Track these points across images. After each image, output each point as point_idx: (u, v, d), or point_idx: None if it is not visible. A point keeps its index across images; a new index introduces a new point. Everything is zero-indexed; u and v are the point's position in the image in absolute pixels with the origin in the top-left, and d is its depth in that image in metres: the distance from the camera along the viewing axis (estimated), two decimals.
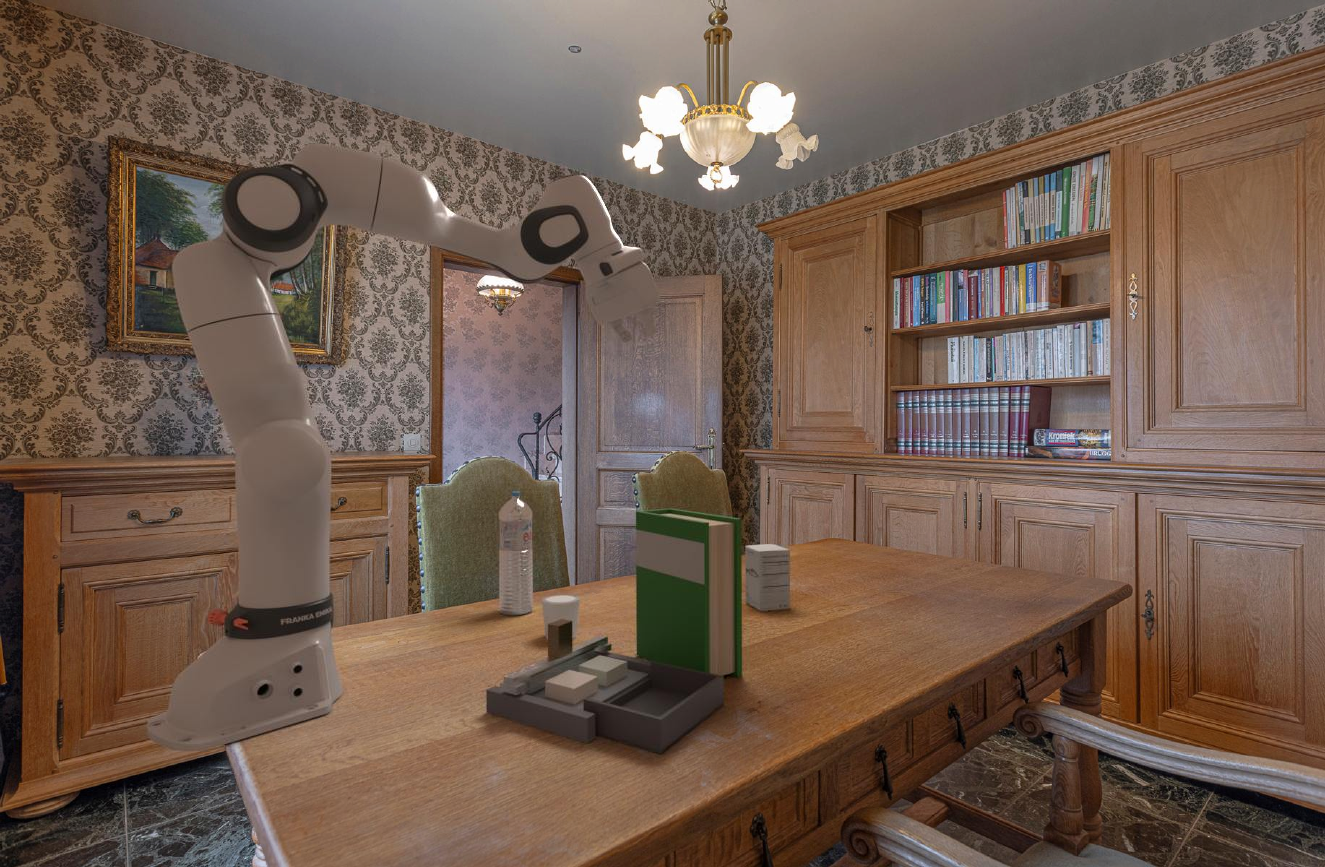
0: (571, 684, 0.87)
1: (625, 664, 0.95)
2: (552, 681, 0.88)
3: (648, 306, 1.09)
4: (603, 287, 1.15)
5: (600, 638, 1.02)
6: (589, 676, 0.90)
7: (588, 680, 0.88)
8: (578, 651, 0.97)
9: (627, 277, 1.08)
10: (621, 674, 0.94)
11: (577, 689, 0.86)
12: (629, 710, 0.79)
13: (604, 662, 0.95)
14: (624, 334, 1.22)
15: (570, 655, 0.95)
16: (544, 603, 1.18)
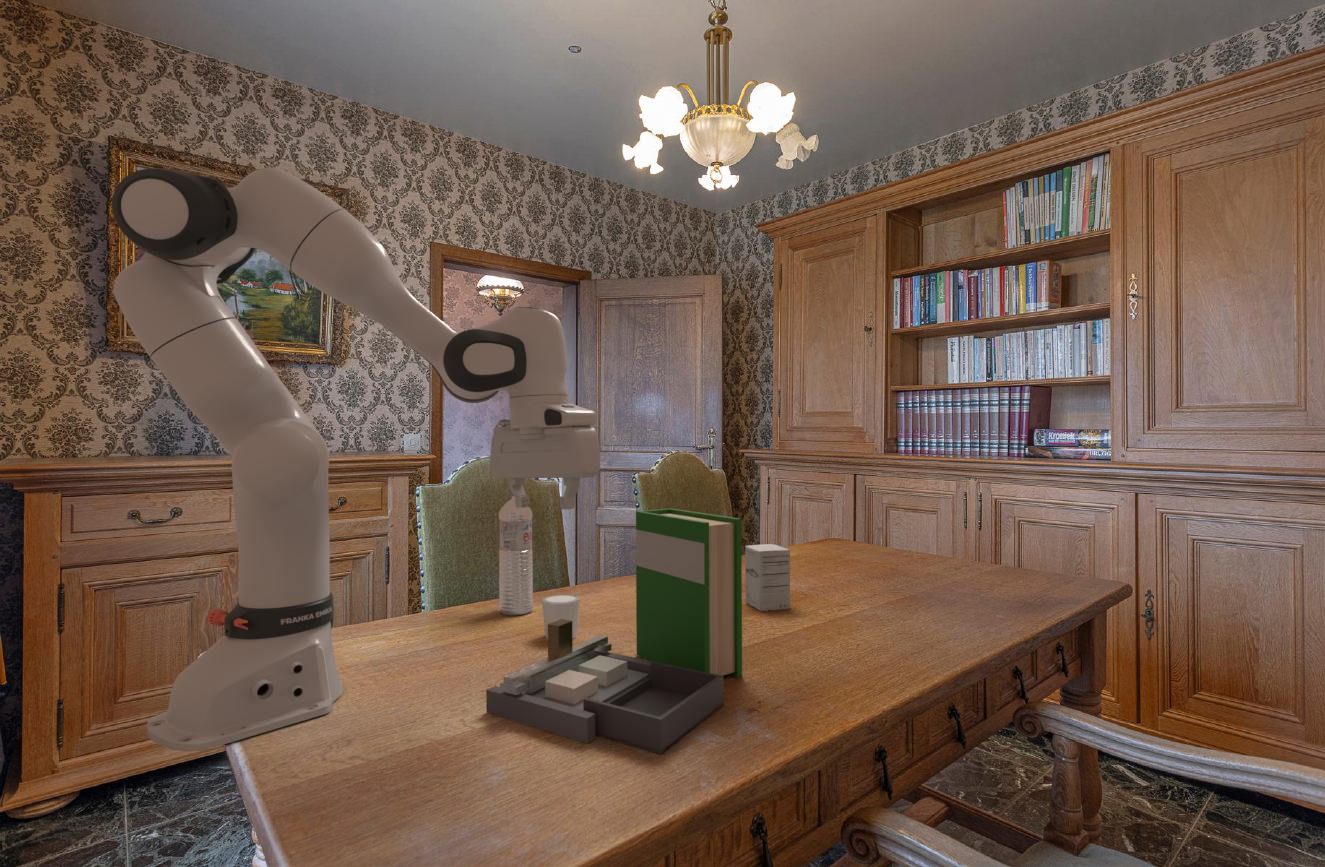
0: (571, 684, 0.87)
1: (625, 664, 0.95)
2: (552, 681, 0.88)
3: (586, 475, 0.93)
4: (533, 436, 0.96)
5: (600, 638, 1.02)
6: (589, 676, 0.90)
7: (588, 680, 0.88)
8: (578, 651, 0.97)
9: (577, 435, 0.92)
10: (621, 674, 0.94)
11: (577, 689, 0.86)
12: (629, 710, 0.79)
13: (604, 662, 0.95)
14: (524, 497, 1.01)
15: (570, 655, 0.95)
16: (544, 603, 1.18)
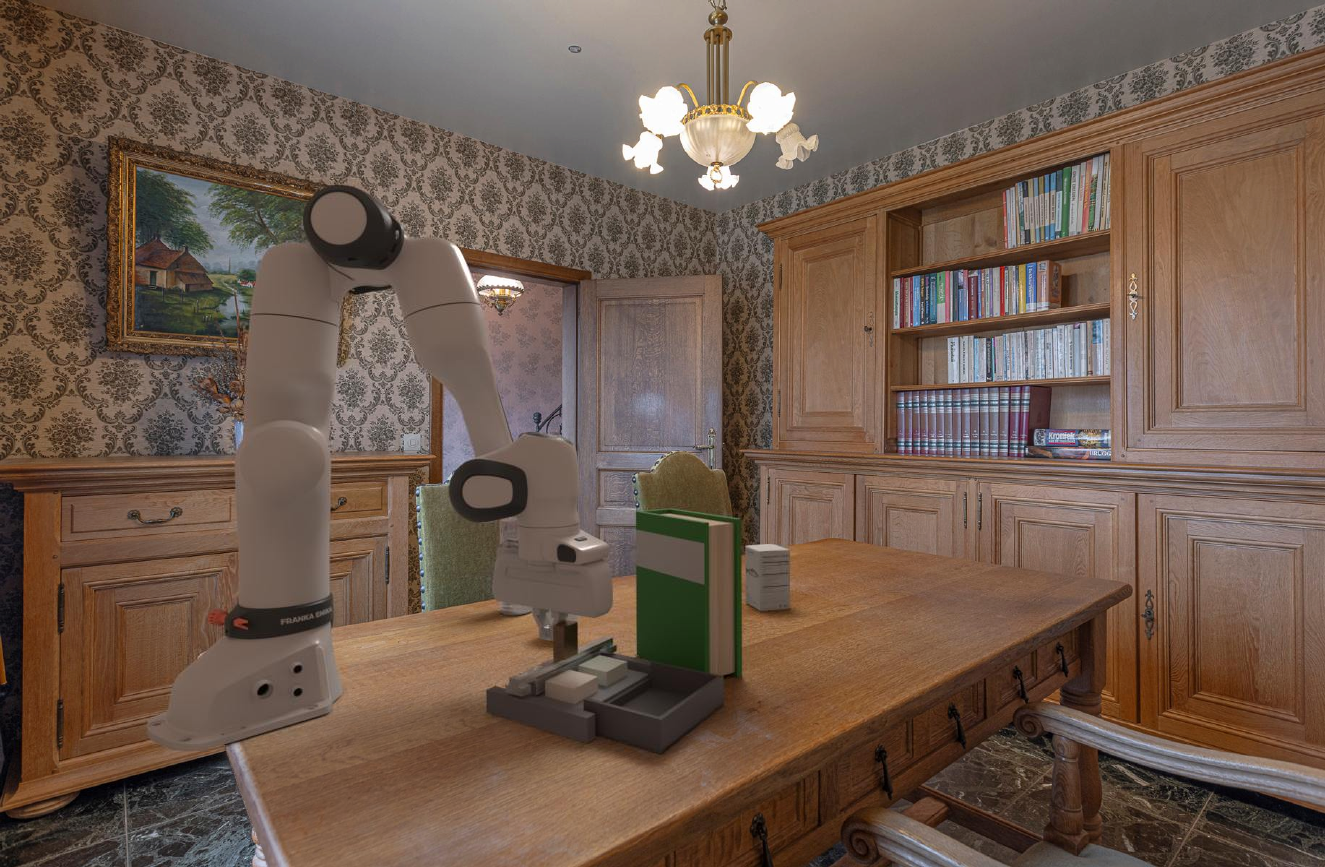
0: (571, 684, 0.87)
1: (625, 664, 0.95)
2: (552, 681, 0.88)
3: (598, 615, 0.90)
4: (543, 568, 0.92)
5: (605, 639, 1.01)
6: (589, 676, 0.90)
7: (588, 680, 0.88)
8: (584, 652, 0.96)
9: (591, 575, 0.89)
10: (621, 674, 0.94)
11: (577, 689, 0.86)
12: (629, 710, 0.79)
13: (604, 662, 0.95)
14: None
15: (575, 656, 0.95)
16: None
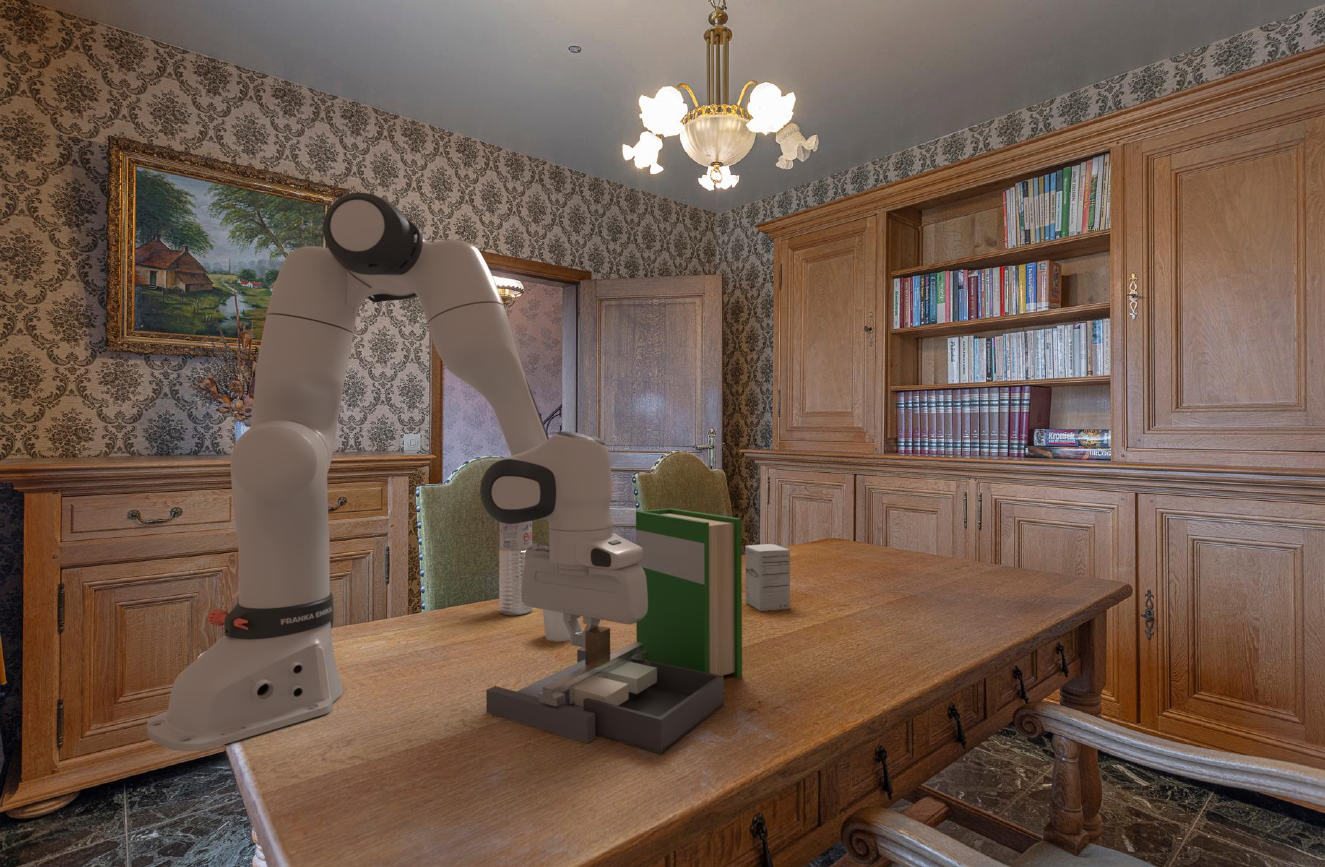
0: (602, 691, 0.84)
1: (655, 671, 0.92)
2: (582, 689, 0.85)
3: (634, 622, 0.87)
4: (575, 573, 0.89)
5: (636, 645, 0.98)
6: (619, 683, 0.87)
7: (619, 688, 0.86)
8: (616, 659, 0.93)
9: (627, 580, 0.86)
10: (651, 681, 0.92)
11: (608, 697, 0.83)
12: (629, 710, 0.79)
13: (633, 668, 0.93)
14: None
15: (608, 663, 0.92)
16: None
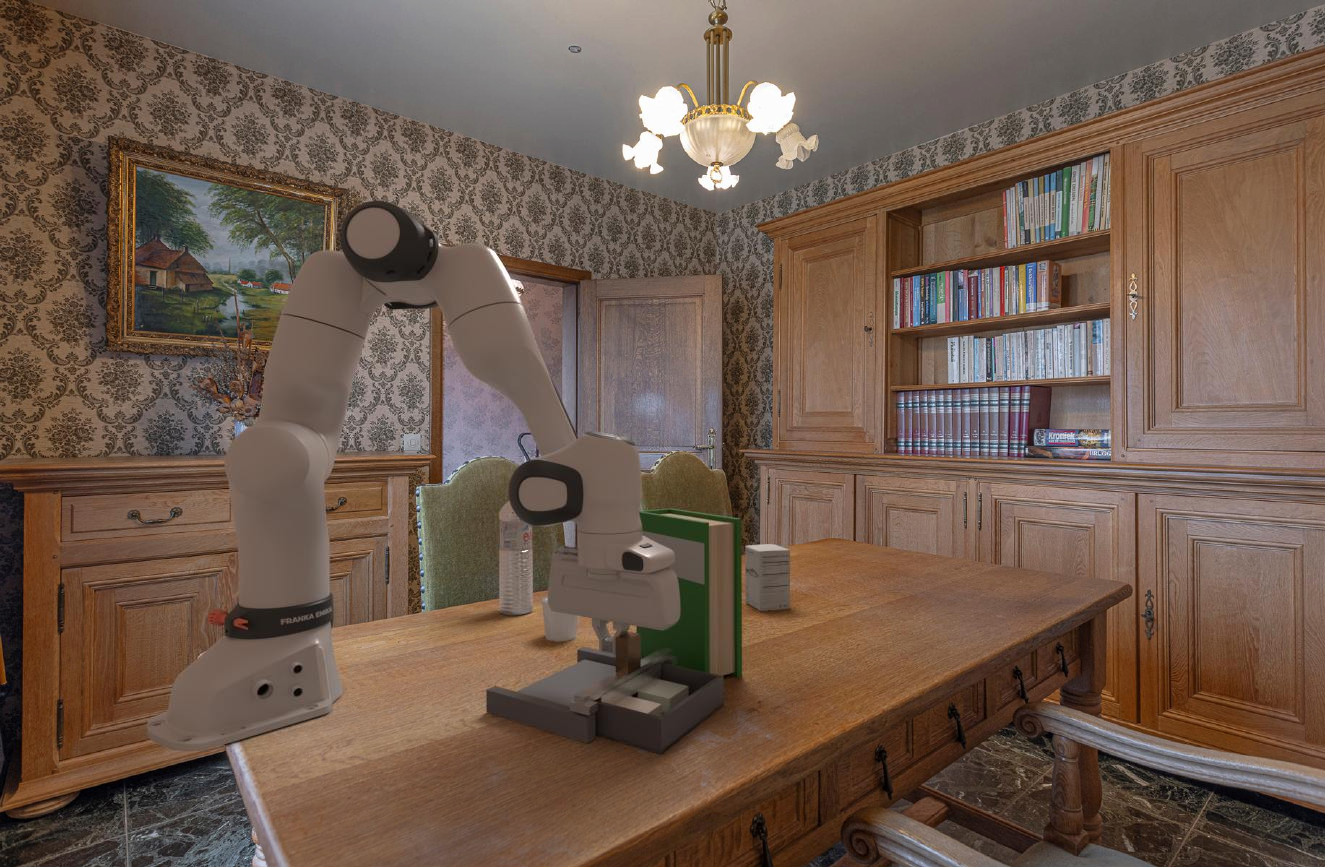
0: None
1: (686, 689, 0.90)
2: None
3: (667, 627, 0.84)
4: (605, 577, 0.87)
5: (665, 651, 0.96)
6: (652, 704, 0.84)
7: (652, 708, 0.83)
8: (646, 665, 0.90)
9: (660, 584, 0.83)
10: None
11: None
12: (629, 710, 0.79)
13: (664, 687, 0.90)
14: None
15: (638, 670, 0.89)
16: (544, 603, 1.18)
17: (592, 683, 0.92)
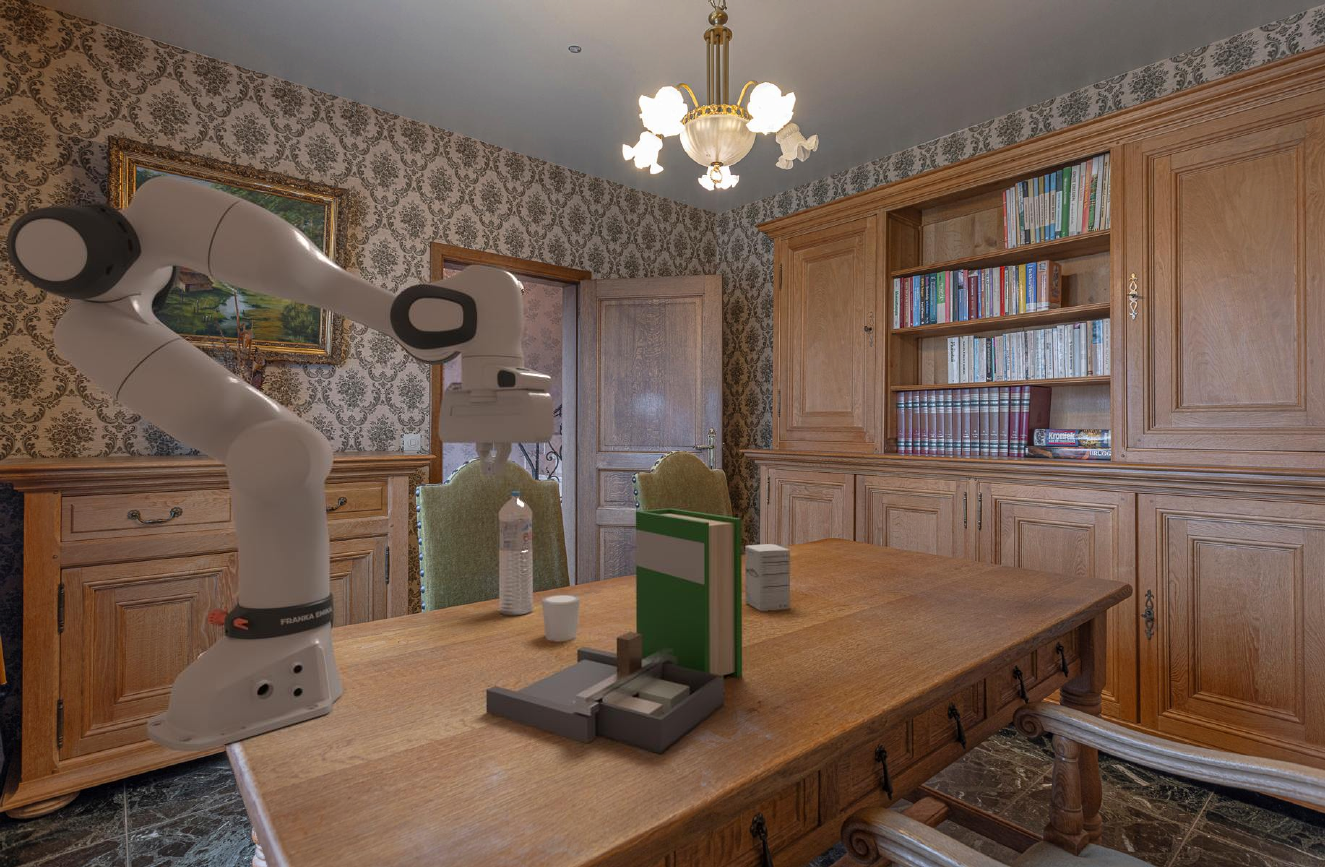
0: None
1: (687, 689, 0.90)
2: None
3: (538, 440, 0.90)
4: (485, 399, 0.93)
5: (666, 651, 0.95)
6: (653, 704, 0.84)
7: (653, 709, 0.83)
8: (647, 666, 0.90)
9: (530, 398, 0.89)
10: None
11: None
12: (629, 710, 0.79)
13: (665, 687, 0.90)
14: None
15: (639, 671, 0.89)
16: (544, 603, 1.18)
17: (592, 683, 0.92)
